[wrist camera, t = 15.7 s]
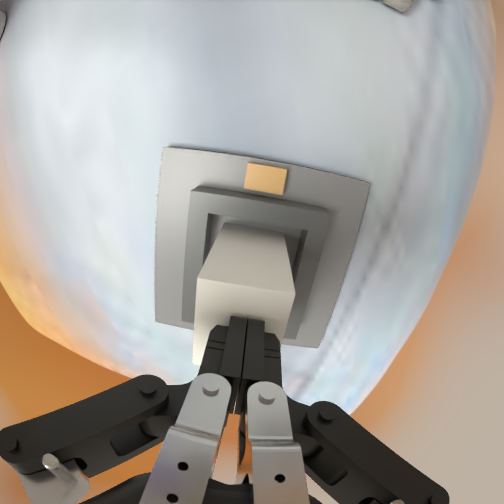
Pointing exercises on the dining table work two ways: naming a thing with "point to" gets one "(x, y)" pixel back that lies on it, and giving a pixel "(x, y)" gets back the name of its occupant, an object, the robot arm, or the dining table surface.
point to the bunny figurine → (399, 4)
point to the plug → (243, 283)
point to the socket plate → (258, 216)
